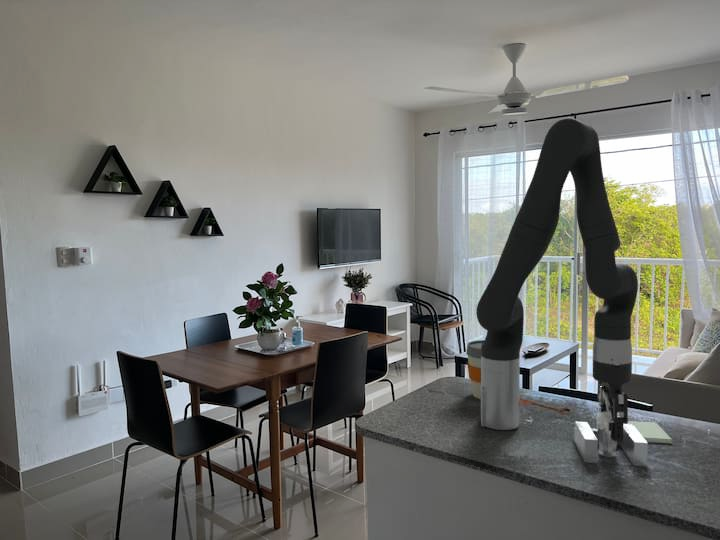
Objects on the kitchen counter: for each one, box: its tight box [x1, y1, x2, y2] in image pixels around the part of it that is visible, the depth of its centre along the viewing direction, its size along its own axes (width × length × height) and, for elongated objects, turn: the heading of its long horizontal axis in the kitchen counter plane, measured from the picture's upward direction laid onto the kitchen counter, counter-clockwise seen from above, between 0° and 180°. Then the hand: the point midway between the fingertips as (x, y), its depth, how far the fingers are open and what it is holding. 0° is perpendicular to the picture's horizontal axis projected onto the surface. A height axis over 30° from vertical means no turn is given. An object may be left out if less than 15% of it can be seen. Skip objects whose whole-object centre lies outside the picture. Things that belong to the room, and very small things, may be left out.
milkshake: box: [595, 411, 620, 458], centre depth 113 cm, size 4×5×10 cm
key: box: [519, 397, 573, 415], centre depth 142 cm, size 6×1×15 cm
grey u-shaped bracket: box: [573, 421, 649, 468], centre depth 114 cm, size 12×12×5 cm
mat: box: [627, 420, 673, 444], centre depth 124 cm, size 10×10×1 cm
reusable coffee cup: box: [466, 339, 485, 400], centre depth 152 cm, size 13×13×15 cm
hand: (611, 432), depth 113 cm, fingers open, 8 cm apart
